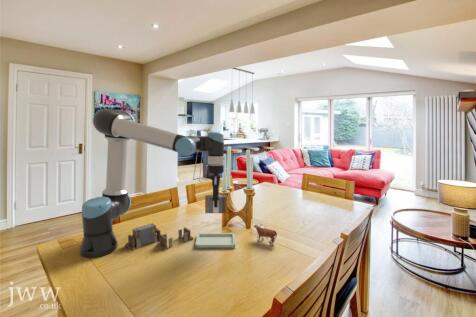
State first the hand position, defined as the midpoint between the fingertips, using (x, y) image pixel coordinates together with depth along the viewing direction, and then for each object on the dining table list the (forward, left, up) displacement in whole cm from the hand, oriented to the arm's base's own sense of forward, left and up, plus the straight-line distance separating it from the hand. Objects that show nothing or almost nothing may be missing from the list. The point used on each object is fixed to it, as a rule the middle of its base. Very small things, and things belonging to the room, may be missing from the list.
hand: (216, 211), depth 122 cm
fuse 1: (-27, +23, -16) cm, 38 cm away
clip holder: (-15, +13, -16) cm, 26 cm away
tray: (0, 0, -16) cm, 16 cm away
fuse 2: (0, 0, 0) cm, 0 cm away
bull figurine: (+19, -15, -16) cm, 29 cm away
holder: (-27, +23, -16) cm, 38 cm away
